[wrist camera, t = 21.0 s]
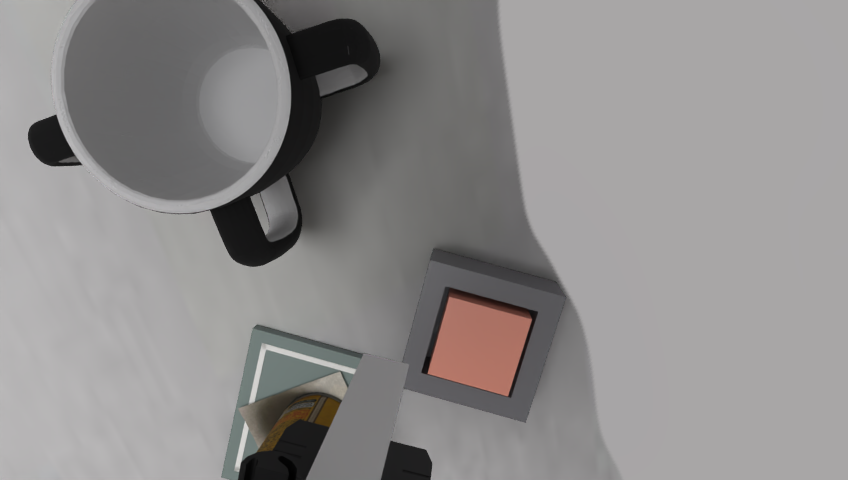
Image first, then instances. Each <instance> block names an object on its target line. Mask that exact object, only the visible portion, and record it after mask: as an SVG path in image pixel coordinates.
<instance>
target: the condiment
mask: <svg viewBox="0 0 848 480" xmlns="http://www.w3.org/2000/svg"><path fill="white" fill-rule="evenodd" d="M347 389H348V388H347V386H346V384H345V381H344V379H343V377H342V374H341V372H337V373H334V374H331V375H328V376H326V377H323V378H320V379H317V380H315V381H312V382H308V383H306V384H303V385H300V386H298V387H295V388H292V389H290V390H287V391H284V392H282V393H280V394H277V395H273V396H271V397H268V398H265V399H262V400H260V401H257V402H255V403H252V404H250V405H247V406H244V407H241V408H238V409H239V411H240V413H241V415H242V417H243V418H244V420H245V422H246V424H247V426H248V428H249V430H250V432H251V434H252V436H253V438H254V440H255V442H256V444H257V446H258V448H259V449H258V450H257V452H261V451H269V450H270V451H273V448H274V447H275V445H276V444H277V442H278V441H279V439H280V437H281V435H282V434H283V432H284V430H285V429H286V427H288V426H290V425H291V424H293V423H295V422H296V421H298V420H299V419H300V420H304V421H308V422H312V423H316V424H320V425H324V426H328V427H330V426H331V424H332V421H333V419H334V417H335V415H336V413H337V411H338V408H339V406H340V404H341V402H342V400H343V398H344V395H345V393H346V391H347Z"/></svg>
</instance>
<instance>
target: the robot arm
mask: <svg viewBox="0 0 848 480" xmlns="http://www.w3.org/2000/svg"><path fill="white" fill-rule="evenodd" d="M408 367H409V364H406V363H402V362H398V361H394V360H390V359H386V358H382V357H378V356H374V355H370V354H366V353H364V354H363V356H362V358H361V361H360V363H359V365H358V367H357V369H356V371H355V374H354V376H353V378H352V380H351V382H350V384H349V387H348V389H347V391H346V393H345V395H344V398H343V400H342V402H341V404H340V406H339V408H338V411H337V413H336V415H335V417H334V419H333V421H332V424H331V426H330V427H328V426H324V425H320V424H316V423H312V422H308V421H304V420H300V419H299V420H298V421H296V422H295V423H293V424H291V425H290V426H288V427H286V429H285V430H284V432H283V434H282V435H281V437H280V439H279V441H278V442H277V444H276V445H275V447H274V448H273V451H270V450H269V451H261V452H256V453H254V454H252V455H249V456H247V457H246V458H245V459H244V460H243V461H242V462H241V464H240V470H239V476H238V480H431V479H430V478H431V471H432V462H431V459H430V457H429V455H428V453H427V451H426V450H424V449H420V448H416V447H413V446H409V445H405V444H401V443H397V442H393V441H391V438H392V433H393V429H394V425H395V421H396V417H397V413H398V408H399V404H400V400H401V396H402V392H403V388H404V383H405V379H406V375H407V371H408Z"/></svg>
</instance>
